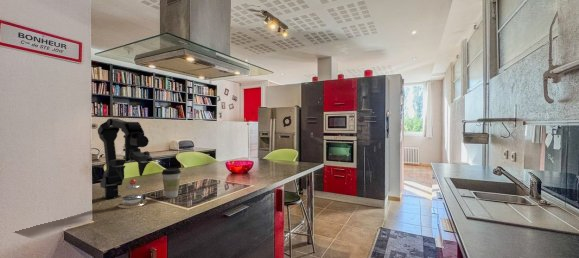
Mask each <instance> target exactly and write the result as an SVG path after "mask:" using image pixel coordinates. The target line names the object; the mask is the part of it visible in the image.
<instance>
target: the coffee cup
mask: <svg viewBox="0 0 579 258" xmlns="http://www.w3.org/2000/svg"><path fill="white" fill-rule="evenodd" d="M181 173H182V171H181V169H180V168H175V167H174V168H173V167H172V168H165V169H162V172H161V176H162V183H163V192H164V196H165V198H166V199H171V198H177V197H178V196H179V195H178V194H179V189H180V188H179V187H180V180H181Z"/></svg>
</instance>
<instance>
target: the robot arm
mask: <svg viewBox="0 0 579 258" xmlns="http://www.w3.org/2000/svg"><path fill="white" fill-rule="evenodd" d="M119 131H121V132H122V133H124V135H123V138H124V148H123V149H122V150H123V152H124V156H123V158H117V154H116V153H117V152H116V144H115V143H116V142H115V141H116V139H117V138H118V133H119ZM97 134H98V136H99V139H100V140H101V142H102V143H103V147H104V149H103V150H104V157H105V167H106V169H105V171H104V172H103V175H102V176H103V177H102V179H101V180H100V183H99V184H100V188H102V189H104V196H101V199H105V200H112V199H115V198H120V197H121V195H120V194H119V186H123V182H124V180H125V168H126V165H125V164H130V163H137V167H138V173H139V177H142V176H143V175H144V171H145V168H146V167H147V165H149V164H150V163H151V162H152V161H153V157H152V155H151V154H150V151H143V152H142V151H141V148H146V147H147V146H148V145H149V142H150V141H149V138H148V137H147V136H146V135H145V130H144V129H143V127H142V126H141V124H140V122H139V121H126V120H123V119H119V118H115V117H114V118H111V117H110V118H108V119H107V120H106V121H105V122H103V123H101V124H100V125H99V127H98V128H97Z"/></svg>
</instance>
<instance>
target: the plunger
mask: <svg viewBox="0 0 579 258" xmlns="http://www.w3.org/2000/svg"><path fill="white" fill-rule="evenodd" d="M129 184H130V185H128V186H125V189H126V190H135V189H139V188H141V185H140V184H137V180H136V179H135V178H134V179H133V178H132V179H130V180H129Z"/></svg>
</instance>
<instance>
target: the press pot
mask: <svg viewBox="0 0 579 258" xmlns="http://www.w3.org/2000/svg"><path fill="white" fill-rule="evenodd" d="M146 196H147V194H146V193H143V194H142V193H135V194H134V193H132V194H127V195H125V196H123V197H121V199H122V202H121V203H120V204H118V208H120V209H133V208H139V207H142V206H144V205H147V203H148V201H147V200H146Z"/></svg>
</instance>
